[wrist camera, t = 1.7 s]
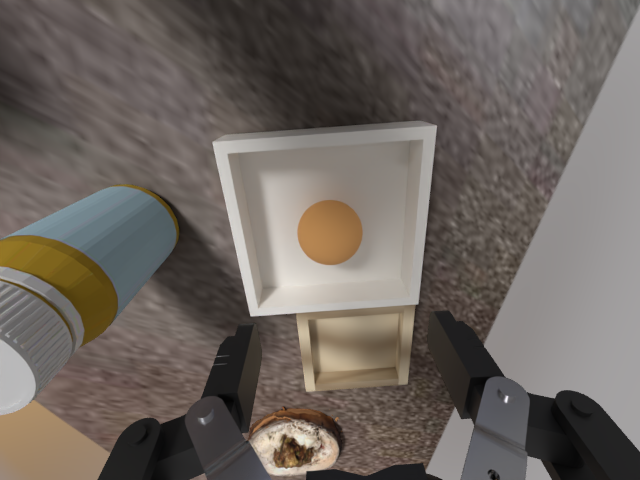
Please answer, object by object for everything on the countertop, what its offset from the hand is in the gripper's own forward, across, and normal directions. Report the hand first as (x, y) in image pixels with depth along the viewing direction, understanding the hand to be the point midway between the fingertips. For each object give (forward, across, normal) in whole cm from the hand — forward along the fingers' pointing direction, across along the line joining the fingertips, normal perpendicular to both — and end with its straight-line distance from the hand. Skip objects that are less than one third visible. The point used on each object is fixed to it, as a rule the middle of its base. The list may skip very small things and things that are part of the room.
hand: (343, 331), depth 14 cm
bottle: (+14, +16, -1) cm, 21 cm away
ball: (+13, 0, 0) cm, 13 cm away
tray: (+14, -2, +13) cm, 19 cm away
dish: (+14, 0, 0) cm, 14 cm away
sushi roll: (+14, +6, +31) cm, 35 cm away
